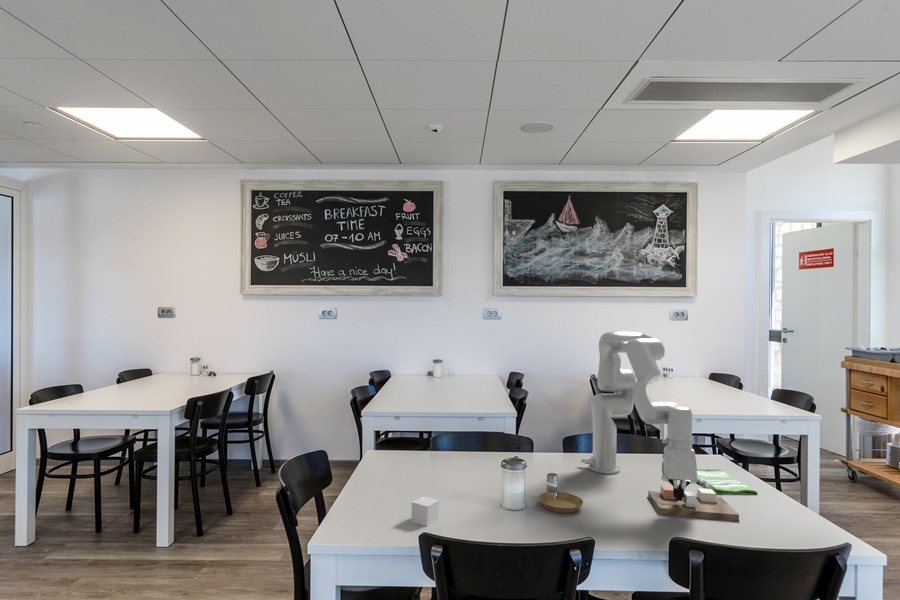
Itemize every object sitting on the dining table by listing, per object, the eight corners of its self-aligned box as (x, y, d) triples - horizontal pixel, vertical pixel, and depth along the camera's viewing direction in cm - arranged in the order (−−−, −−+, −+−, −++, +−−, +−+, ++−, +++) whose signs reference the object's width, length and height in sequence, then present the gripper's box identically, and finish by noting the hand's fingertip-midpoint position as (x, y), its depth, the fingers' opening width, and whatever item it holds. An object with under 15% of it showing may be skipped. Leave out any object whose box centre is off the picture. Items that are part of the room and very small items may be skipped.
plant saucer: (529, 502, 170) (530, 494, 170) (565, 496, 176) (565, 489, 176) (555, 519, 156) (555, 510, 156) (592, 512, 162) (592, 504, 162)
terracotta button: (664, 498, 170) (664, 489, 170) (660, 493, 174) (660, 485, 174) (678, 499, 169) (678, 490, 169) (674, 494, 173) (674, 486, 173)
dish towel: (722, 475, 204) (722, 466, 204) (759, 496, 181) (759, 486, 181) (681, 475, 203) (681, 466, 203) (713, 496, 180) (713, 486, 180)
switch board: (659, 514, 161) (659, 507, 161) (648, 496, 177) (648, 490, 177) (738, 521, 157) (739, 514, 157) (720, 502, 173) (720, 496, 173)
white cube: (427, 526, 149) (427, 506, 149) (411, 521, 152) (411, 502, 152) (438, 519, 154) (438, 500, 154) (422, 515, 157) (423, 496, 157)
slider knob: (686, 506, 162) (686, 495, 162) (682, 501, 166) (682, 491, 166) (696, 507, 161) (696, 496, 161) (692, 502, 165) (692, 491, 165)
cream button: (701, 501, 168) (701, 492, 168) (697, 496, 172) (697, 488, 172) (716, 502, 167) (716, 493, 167) (711, 497, 171) (711, 489, 171)
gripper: (658, 445, 162) (657, 501, 162) (707, 448, 159) (706, 506, 159) (652, 439, 169) (652, 493, 169) (699, 442, 167) (699, 497, 166)
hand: (678, 499), depth 164 cm, fingers closed
